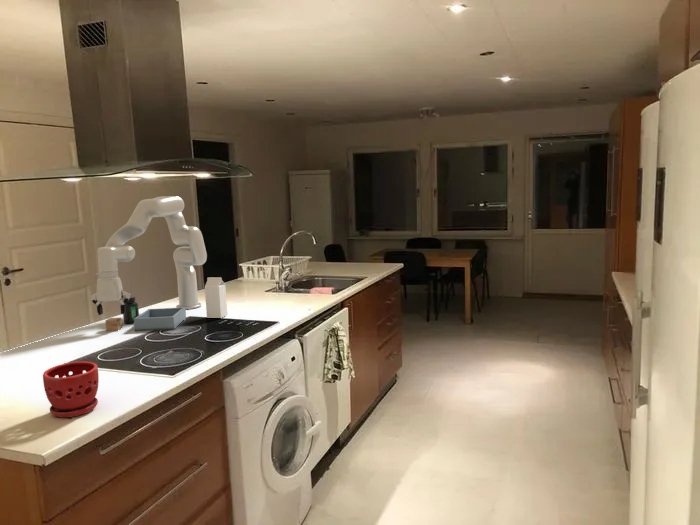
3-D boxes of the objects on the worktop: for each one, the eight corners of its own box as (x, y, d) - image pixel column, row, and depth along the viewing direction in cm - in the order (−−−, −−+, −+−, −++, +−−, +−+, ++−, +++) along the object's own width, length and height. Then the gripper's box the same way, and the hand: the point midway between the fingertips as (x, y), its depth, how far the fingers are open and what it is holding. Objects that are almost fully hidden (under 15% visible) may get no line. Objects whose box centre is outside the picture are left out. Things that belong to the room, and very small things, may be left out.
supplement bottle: (138, 323, 247) (135, 297, 246) (122, 324, 246) (120, 299, 244) (140, 320, 254) (138, 295, 252) (125, 321, 253) (123, 296, 251)
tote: (149, 320, 252) (148, 309, 252) (186, 318, 253) (185, 307, 252) (134, 331, 232) (133, 318, 232) (174, 329, 233) (173, 316, 233)
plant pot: (36, 417, 142) (30, 373, 140) (78, 399, 154) (74, 359, 152) (70, 424, 136) (65, 379, 135) (112, 405, 148) (108, 363, 147)
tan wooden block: (110, 328, 239) (109, 317, 239) (122, 328, 240) (121, 317, 239) (106, 331, 234) (105, 320, 234) (118, 331, 235) (117, 319, 234)
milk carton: (221, 319, 250) (218, 278, 247) (206, 318, 251) (203, 278, 249) (227, 315, 256) (224, 276, 254) (213, 315, 258) (210, 276, 255)
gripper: (84, 277, 230) (88, 316, 231) (125, 275, 230) (128, 314, 232) (92, 274, 237) (95, 313, 239) (132, 273, 238) (135, 311, 240)
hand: (111, 313), depth 236 cm, fingers open, 9 cm apart
